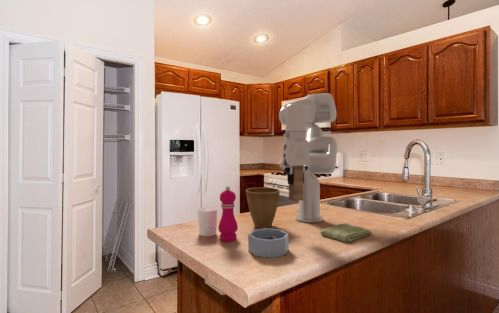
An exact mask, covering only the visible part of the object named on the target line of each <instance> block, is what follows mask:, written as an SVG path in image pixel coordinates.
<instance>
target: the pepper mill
mask: <svg viewBox="0 0 499 313" xmlns="http://www.w3.org/2000/svg"><path fill="white" fill-rule="evenodd" d="M224 189H225V190H223V191H222V192H221V193H220V195H219V200H220V202H221V203H220V206H221V208H222V213H221V217H220V220H219V224H218V231H219V233H220V234H219V240H220V241H221V242H225V243H228V242H229V243H231V242H234V240H235V241H236V240H237V231H238V228H239V227H238V222H237V220H236V218H235V214H234V213H235V212H234V208H235V201H236V193H235V192H234V191H232V190H231V186H228V185H227V186H225V188H224ZM230 241H231V242H230Z"/></svg>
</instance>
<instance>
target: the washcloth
mask: <svg viewBox="0 0 499 313" xmlns="http://www.w3.org/2000/svg"><path fill="white" fill-rule="evenodd" d="M372 234H373V232H372V231H371V230H370V229H367V228H364V227H361V226H359V225H353V224H350V223H339V224H336V225H333V226H327V227H324V228H323V229H321V231H320V235H322V236H323V237H327V238H328V239H329V238H330V239H334V240H336V241H339V242H342V243H345V244H346V243H347V244H348V243H351V242H355V241H357V240H359V239H362V238H364V237H366V236H370V235H372Z"/></svg>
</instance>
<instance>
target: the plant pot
mask: <svg viewBox="0 0 499 313" xmlns="http://www.w3.org/2000/svg"><path fill="white" fill-rule="evenodd" d="M280 192H281V190H280V189H279V188H275V187H262V186H261V187H260V186H259V187H250V188H247V189H246V190H245V195H246V201H247V205H248V211H249V213H250V217H251V219H252V222H253V225H254V227H255V228H257V227H258V229H266V228H268V229H270V227H272V225H273V222H274V219H275V217H276V212H277V209H278V205H279V199H280Z"/></svg>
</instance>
